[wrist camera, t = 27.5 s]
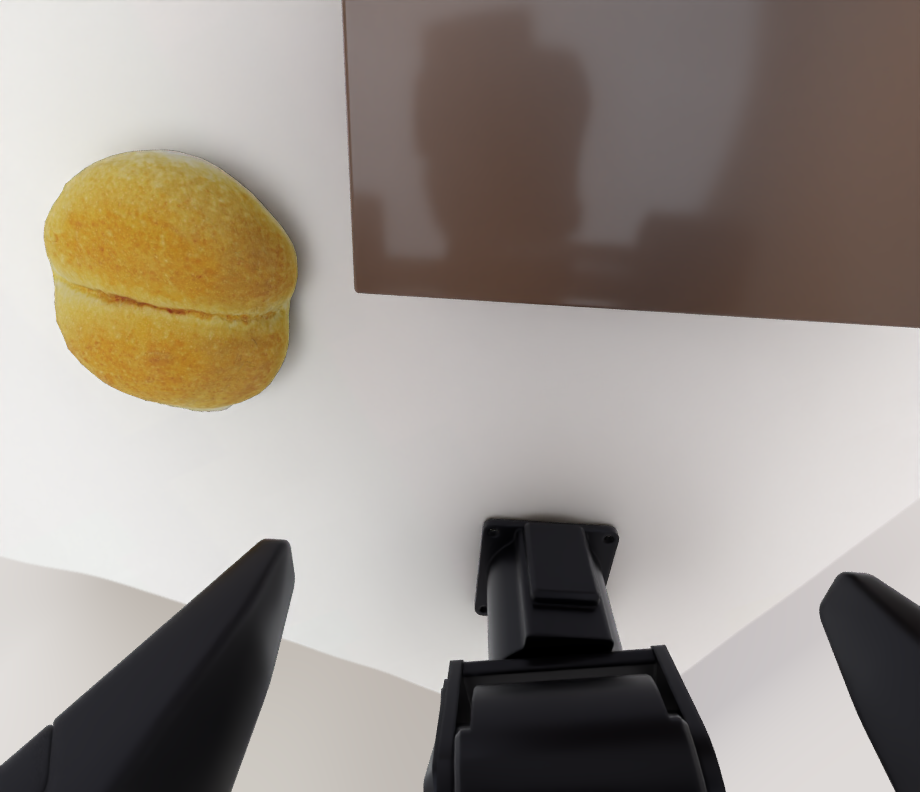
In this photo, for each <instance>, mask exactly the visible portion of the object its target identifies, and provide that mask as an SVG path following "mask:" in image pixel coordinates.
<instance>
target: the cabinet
mask: <svg viewBox="0 0 920 792" xmlns="http://www.w3.org/2000/svg"><path fill="white" fill-rule="evenodd" d="M342 22H343V44H344V67H345V89H346V111H347V133H348V155H349V177H350V199H351V222H352V244H353V266H354V288H355V291H356V292H357V293H365V294H381V295H397V296H413V297H429V298H445V299H461V300H477V301H493V302H509V303H525V304H541V305H557V306H574V307H590V308H606V309H622V310H638V311H654V312H670V313H686V314H702V315H718V316H734V317H750V318H766V319H782V320H798V321H814V322H830V323H846V324H862V325H879V326H895V327H911V328H920V0H342Z"/></svg>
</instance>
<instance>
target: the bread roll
mask: <svg viewBox="0 0 920 792" xmlns="http://www.w3.org/2000/svg"><path fill="white" fill-rule="evenodd" d="M44 242H45V248H46V252H47V256H48V258H49V261H50V264H51V268H52V271H53V277H54V285H55V293H54V296H55V310H56V321H57V324H58V326H59V328H60V330H61V332H62V334H63V337H64V339H65V342H66V344H67V347H68V349H69V350H70V351H71V353H72V354H73V355H74V356H75V357H76V358H77V359H78V360H79V362H80V363H81V364H82V365H84V366H85V367H86V368H87V369H88V370H89V371H90V372H91V373H93V374H94V375H95V376H96V377H98V378H99V379H100V380H102V381H103V382H104V383H106V384H108V385H109V386H111V387H113V388H115V389H117V390H120V391H122V392H124V393H127V394H129V395H132V396H135V397H138V398H141V399H144V400H145V401H152V402H157V403H160V404H166V405H169V406H173V407H180V408H185V409H189V410H192V411H201V412H202V411H207V412H210V411H222V410H226V409H227V408H229V407H230V406H232V405H233V404H236V403H240V402H242V401H245V400H247V399H249V398H251V397H253V396H255V395H257V394H259V393H260V392H262V391H263V390H264V389H265V388H266V387H267V386H268V385H269V384H270V383H271V382H272V380H273V379H274V378H275V376H276V374H277V373H278V371H279V369H280V367H281V366H282V363H283V361H284V359H285V357H286V353H287V349H288V345H289V309H290V300H291V297H292V295H293V293H294V291H295V287H296V282H297V277H298V266H297V255H296V252H295V249H294V246H293V244H292V242H291V240H290V238H289V237H288V235H287V233H286V232H285V230H284V229H283V228H282V226H281V225H280V224H279V223H278V221H277V220H276V219H275V218H274V217H273V216H272V214H271V213H270V212H269V211H268V210H267V209H266V208H265V207H264V206H263V204H262V203H261V202H260V201H259V200H258V199H257V198H256V197H255V196H254V195H253V194H252V193H251V192H250V191H249V190H248V189H246V188H245V187H244V186H243V185H241V184H240V183H239V182H238V181H237V180H235V179H234V178H233V177H231V176H230V175H229V174H227V173H226V172H224V171H223V170H221V169H220V168H219V167H217V166H215V165H213V164H212V163H210V162H208V161H206V160H204V159H202V158H199V157H195V156H192V155H189V154H186V153H182V152H178V151H171V150H146V151H132V152H126V153H121V154H117V155H113V156H109V157H107V158H105V159H102V160H100V161H97V162H95V163H93V164H92V165H90V166H88V167H86V168H85V169H84V170H82V171H81V172H80V173H78V174H77V175H76V176H74V177H73V178H72V179H71V180H70V181H69V182H67V183H66V184H65V186H64V188H63V191H62V193H61V194H60V196H59V197H58V199H57V200H56V201H55V203H54V204H53V206H52V208H51V210H50V212H49V214H48V216H47V219H46V221H45V227H44Z"/></svg>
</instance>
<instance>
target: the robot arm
mask: <svg viewBox="0 0 920 792" xmlns="http://www.w3.org/2000/svg"><path fill="white" fill-rule="evenodd" d="M491 529H497V530H495V531H492V530H491ZM606 536H609V537H606ZM618 542H619V536H618V533H617V530H616V529H615V528H614V527H612V526H603V525H586V524H569V523H552V522H535V521H518V520H501V519H490V520H487V521H486V522H485V523H484V524H483V529H482V539H481V548H480V558H479V567H478V577H477V586H476V596H475V612H476V613H477V614H479V615H483V616H488V652H489V660H485V661H471V662H464V661H463V660H453V661H450V665H449V672H448V679H445V680H444V685H443V688H442V689H441V706H440V713H439V720H438V726H437V733H436V740H435V744H434V748H433V751H432V755H431V758H430V762H429V765H428V768H427V772H426V775H425V779H424V792H726V791H725V787H724V782H723V779H722V775H721V771H720V767H719V764H718V761H717V758H716V754H715V751H714V749H713V746H712V743H711V740H710V738H709V735H708V733H707V731H706V728H705V726H704V724H703V722H702V720H701V718H700V716H699V714H698V712H697V709H696V707H695V705H694V703H693V701H692V699H691V697H690V695H689V693H688V691H687V689H686V687H685V685H684V683H683V681H682V679H681V676H680V674H679V672H678V670H677V668H676V666H675V664H674V662H673V660H672V658H671V656H670V654H669V652H668V650H667V648H666V646H665V645H657V646H651V648H649V649H636V650H622V647H621V643H620V639H619V635H618V632H617V628H616V624H615V620H614V617H613V613H612V609H611V605H610V602H609V598H608V594H607V590H606V584H607V580H608V577H609V573H610V570H611V566H612V563H613V559H614V556H615V552H616V549H617V545H618ZM294 582H295V574H294V567H293V560H292V553H291V547H290V544H289V542H288V541H287V540H281V539H263V540H261V541H260V542H258V543H257V544H256V545H255V546H254V547H252V548H251V549H250V550H249V551H248V552H247V553H246V554H244V555H243V556H242V557H241V558H240V559H239V560H238V561H236V562H235V563H234V564H233V565H232V566H231V567H229V568H228V569H227V570H226V571H225V572H224V573H223V574H221V575H220V576H219V577H218V578H217V579H216V580H215V581H213V582H212V583H211V584H210V585H209V586H208V587H206V588H205V589H204V590H203V591H202V592H201V593H200V594H198V595H197V596H196V597H195V598H194V599H193V600H191V601H190V602H189V603H188V604H187V605H186V606H185V607H184V608H183V609H181V610H180V611H179V612H178V613H177V614H176V615H174V616H173V617H172V618H171V619H170V620H168V622H167V623H165V624H164V625H163V626H162V627H160V628H159V629H158V630H157V631H156V632H155V633H154V634H152V635H151V636H150V637H149V638H148V639H147V640H145V641H144V642H143V643H142V644H141V645H140V646H139V647H137V648H136V649H135V650H134V651H133V652H132V653H130V654H129V655H128V656H127V657H126V658H125V659H124V660H122V661H121V662H120V663H119V664H118V665H117V666H116V667H114V668H113V669H112V670H111V671H110V672H109V673H108V674H106V675H105V676H104V677H103V678H102V679H101V680H99V681H98V682H97V683H96V684H95V685H94V686H93V687H91V688H90V689H89V690H88V691H87V692H86V693H84V694H83V695H82V696H81V697H80V698H79V699H78V700H76V701H75V702H74V703H73V704H72V705H71V706H70V707H68V708H67V709H66V710H65V711H64V712H63V713H62V714H60V715H59V716H58V717H57V718H56V719H55V720H54V722H53V725H48V726H46V727H45V728H44V729H43V730H42V731H41V732H39V733H38V734H37V735H36V736H35V737H33V739H31V740H30V741H29V742H28V743H27V744H25V745H24V746H23V747H22V748H21V749H20V750H19V751H17V752H16V753H15V754H14V755H13V756H11V757H10V758H9V759H8V760H7V761H5V762H4V763H3V764H2V765H1V766H0V792H231V790H232V788H233V784H234V782H235V779H236V777H237V774H238V771H239V768H240V765H241V763H242V760H243V757H244V754H245V752H246V749H247V746H248V743H249V741H250V738H251V735H252V733H253V730H254V727H255V724H256V721H257V719H258V716H259V713H260V710H261V708H262V705H263V702H264V699H265V696H266V693H267V690H268V687H269V684H270V681H271V677H272V674H273V670H274V666H275V662H276V658H277V654H278V650H279V646H280V642H281V638H282V634H283V630H284V626H285V621H286V617H287V613H288V609H289V605H290V601H291V597H292V593H293V589H294ZM819 611H820V612H819V613H820V619H821V622H822V624H823V627H824V630H825V632H826V635H827V637H828V640H829V642H830V645H831V648H832V650H833V653H834V656H835V658H836V661H837V663H838V666H839V668H840V671H841V673H842V676H843V679H844V681H845V684H846V686H847V689H848V691H849V694H850V697H851V699H852V702H853V704H854V707H855V709H856V711H857V714H858V716H859V718H860V720H861V722H862V725H863V727H864V729H865V731H866V733H867V735H868V737H869V739H870V741H871V743H872V745H873V747H874V749H875V751H876V753H877V755H878V757H879V759H880V761H881V763H882V765H883V767H884V769H885V771H886V773H887V775H888V777H889V780H890V782H891V784H892V786H893V787H894V790H895V792H920V606H918V605H917V604H915V603H914V602H912V601H911V600H909V599H908V598H906V597H905V596H903V595H902V594H900V593H899V592H897V591H896V590H894V589H893V588H891V587H890V586H888V585H887V584H885V583H884V582H882V581H881V580H879V579H878V578H876V577H874V576H873V575H870V574H867V573H855V572H843V573H841V574H839V575H838V576H837V577H836V579H835V580H834V582H833V584H832V585H831V587H830V588H829V590H828V592H827V593H826V595H825V597H824V599H823V600H822V602H821V604H820V609H819Z"/></svg>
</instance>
